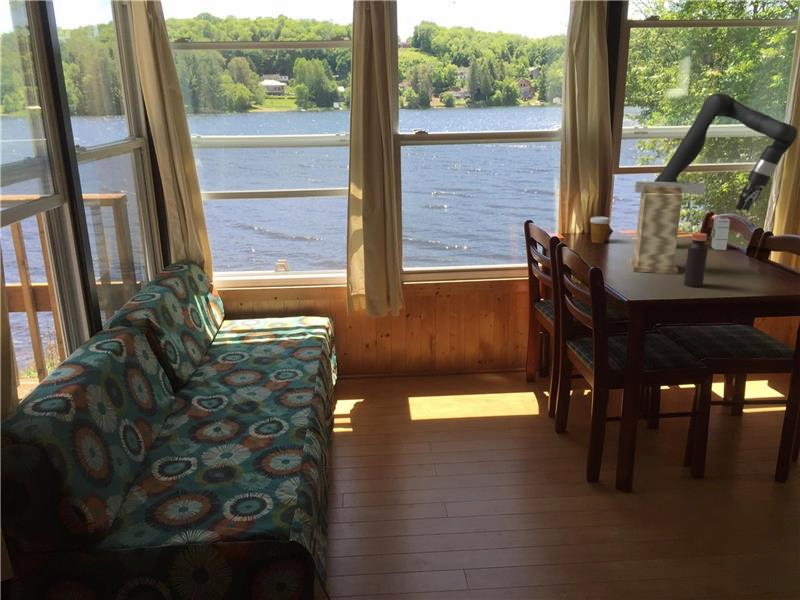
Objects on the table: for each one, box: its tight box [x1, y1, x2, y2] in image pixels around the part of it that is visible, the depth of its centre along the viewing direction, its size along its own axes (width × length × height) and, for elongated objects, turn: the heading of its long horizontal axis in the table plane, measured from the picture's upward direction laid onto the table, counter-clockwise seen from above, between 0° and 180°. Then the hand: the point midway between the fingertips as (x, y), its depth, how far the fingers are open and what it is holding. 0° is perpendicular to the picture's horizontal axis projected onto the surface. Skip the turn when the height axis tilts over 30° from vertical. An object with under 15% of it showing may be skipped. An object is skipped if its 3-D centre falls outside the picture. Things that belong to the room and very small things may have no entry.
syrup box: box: [710, 216, 731, 251], centre depth 310 cm, size 6×6×14 cm
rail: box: [634, 180, 707, 195], centre depth 268 cm, size 26×4×4 cm, turn 78°
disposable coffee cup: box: [589, 215, 611, 244], centre depth 326 cm, size 10×10×12 cm
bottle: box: [683, 232, 708, 288], centre depth 251 cm, size 7×7×20 cm
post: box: [628, 187, 683, 275], centre depth 273 cm, size 17×15×34 cm
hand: (741, 209), depth 272 cm, fingers open, 8 cm apart
